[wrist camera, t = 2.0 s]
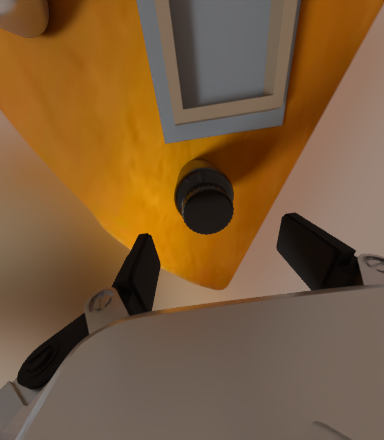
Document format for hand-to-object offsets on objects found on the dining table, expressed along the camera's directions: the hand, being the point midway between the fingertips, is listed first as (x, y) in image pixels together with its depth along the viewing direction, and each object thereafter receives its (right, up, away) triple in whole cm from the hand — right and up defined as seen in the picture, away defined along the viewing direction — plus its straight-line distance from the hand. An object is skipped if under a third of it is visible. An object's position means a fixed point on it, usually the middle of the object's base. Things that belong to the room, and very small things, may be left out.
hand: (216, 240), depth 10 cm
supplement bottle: (-1, +8, +13) cm, 15 cm away
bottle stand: (+1, +20, +6) cm, 21 cm away
